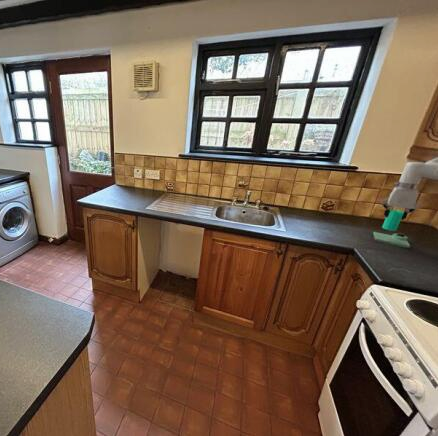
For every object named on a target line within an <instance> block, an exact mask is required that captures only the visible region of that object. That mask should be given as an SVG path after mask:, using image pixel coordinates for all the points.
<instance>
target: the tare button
mask: <svg viewBox="0 0 438 436" xmlns="http://www.w3.org/2000/svg"><path fill="white" fill-rule="evenodd" d="M396 234H397V236H400V237H404V236H406V233H404V232H397V233H396Z"/></svg>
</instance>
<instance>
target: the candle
mask: <svg viewBox="0 0 438 436" xmlns="http://www.w3.org/2000/svg"><path fill="white" fill-rule="evenodd" d="M389 210H390V211H389V214H388V216H387V217H385V219H384V222H383V224H382V226H381V228H382V229H384V230H386V231H390V232H396V231H397V230H398V227H399V225H400V223H401V221H402V216H403V214H404V212H405V211H403V210H399V209H398V208H397V209H389Z"/></svg>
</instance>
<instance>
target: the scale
mask: <svg viewBox="0 0 438 436" xmlns="http://www.w3.org/2000/svg"><path fill="white" fill-rule="evenodd" d="M372 234H373V239H374V241H376V242H381V243H385V244H387V245H388V244H389V245H393V246H398V247H402V248H407V249H410V248H411V244H410V243H409V242H408V239H409V237H408V236H406V235H405V236H404V237H400V236H397V234H398V233H392V234H386V233H382V232H377V231H373V232H372Z"/></svg>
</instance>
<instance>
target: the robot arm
mask: <svg viewBox="0 0 438 436" xmlns="http://www.w3.org/2000/svg"><path fill="white" fill-rule="evenodd" d="M422 178H425V179H431V180H438V157H435V158H433V159H430V160H428V161H426V162H420V161H408V162H406V164H405V166H404V168H403V170H402V172H401V176H400V177H399V180H398V181H397V182H396V181H395V182H394V183H393V185H394V188H393V189H392V191H391V192H390V194H389V195H388V197H387V198H385V199H382V200H380V202H379V203H380V204H381V205H382V206H383V207H384V209H385V210H384V212H383V216H384V218H386V217H387V216H388V214H389V211H390V210H391V208H392V207H395V208H403V209H404V211H403V212H404V214H403V216H402V219H401V221H405V220H404V219H407V217H408V214H410V213H412V212H414V211H417V210H420V206H419V205H418V204H417V203H416V202H417V200H418V196H419V189H418V187H419V185H420V183H421V181H422Z"/></svg>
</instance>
